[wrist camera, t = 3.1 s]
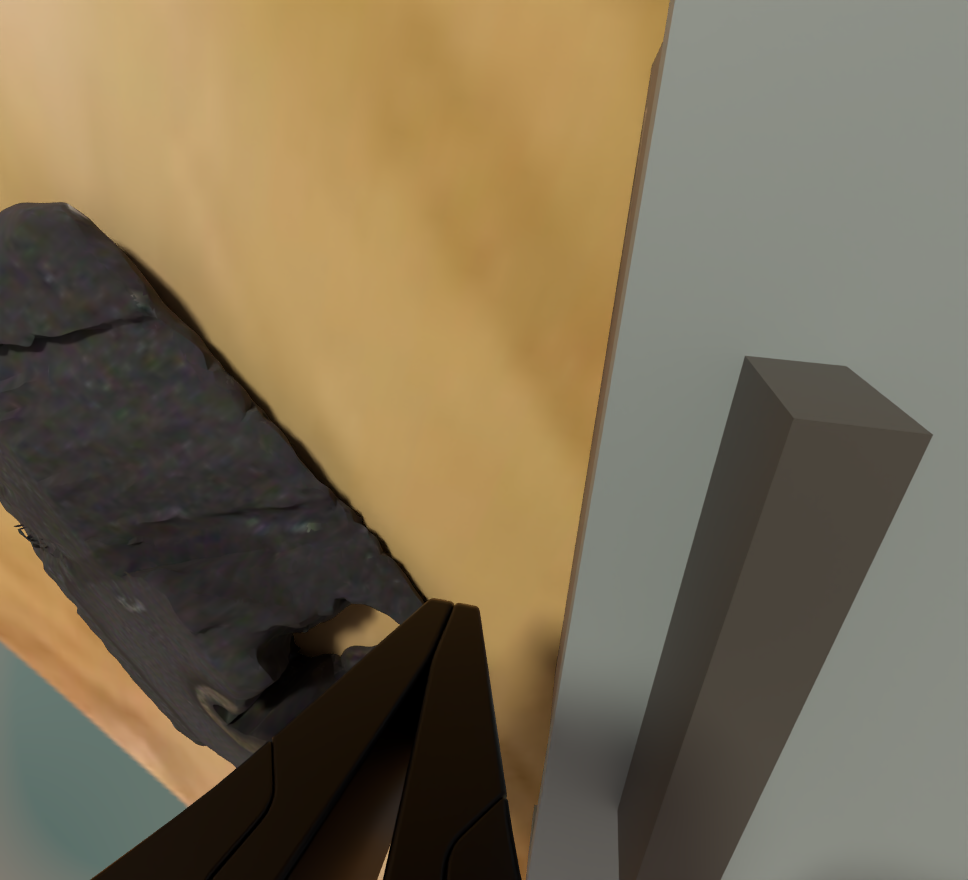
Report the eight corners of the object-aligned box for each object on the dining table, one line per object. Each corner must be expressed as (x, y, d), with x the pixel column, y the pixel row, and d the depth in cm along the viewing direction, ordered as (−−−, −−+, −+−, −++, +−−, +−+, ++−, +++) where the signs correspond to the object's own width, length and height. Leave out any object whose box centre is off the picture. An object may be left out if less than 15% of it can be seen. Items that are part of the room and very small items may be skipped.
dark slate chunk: (162, 116, 14) (-26, 92, 10) (515, 701, 21) (493, 832, 17) (-127, 342, 19) (-327, 389, 15) (232, 748, 26) (162, 856, 22)
